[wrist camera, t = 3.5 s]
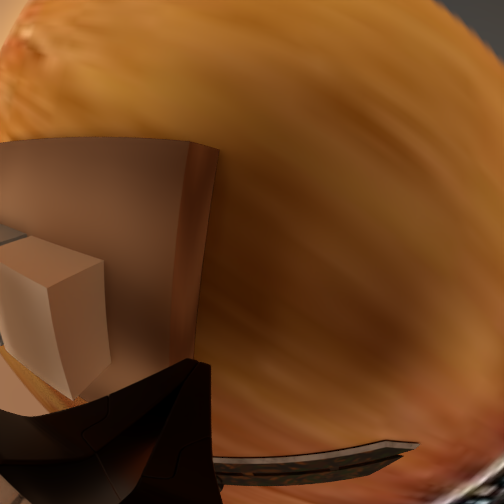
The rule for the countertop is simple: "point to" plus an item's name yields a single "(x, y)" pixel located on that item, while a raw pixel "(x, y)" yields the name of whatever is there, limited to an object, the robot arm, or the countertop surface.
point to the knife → (308, 466)
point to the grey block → (6, 235)
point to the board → (122, 234)
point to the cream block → (54, 313)
